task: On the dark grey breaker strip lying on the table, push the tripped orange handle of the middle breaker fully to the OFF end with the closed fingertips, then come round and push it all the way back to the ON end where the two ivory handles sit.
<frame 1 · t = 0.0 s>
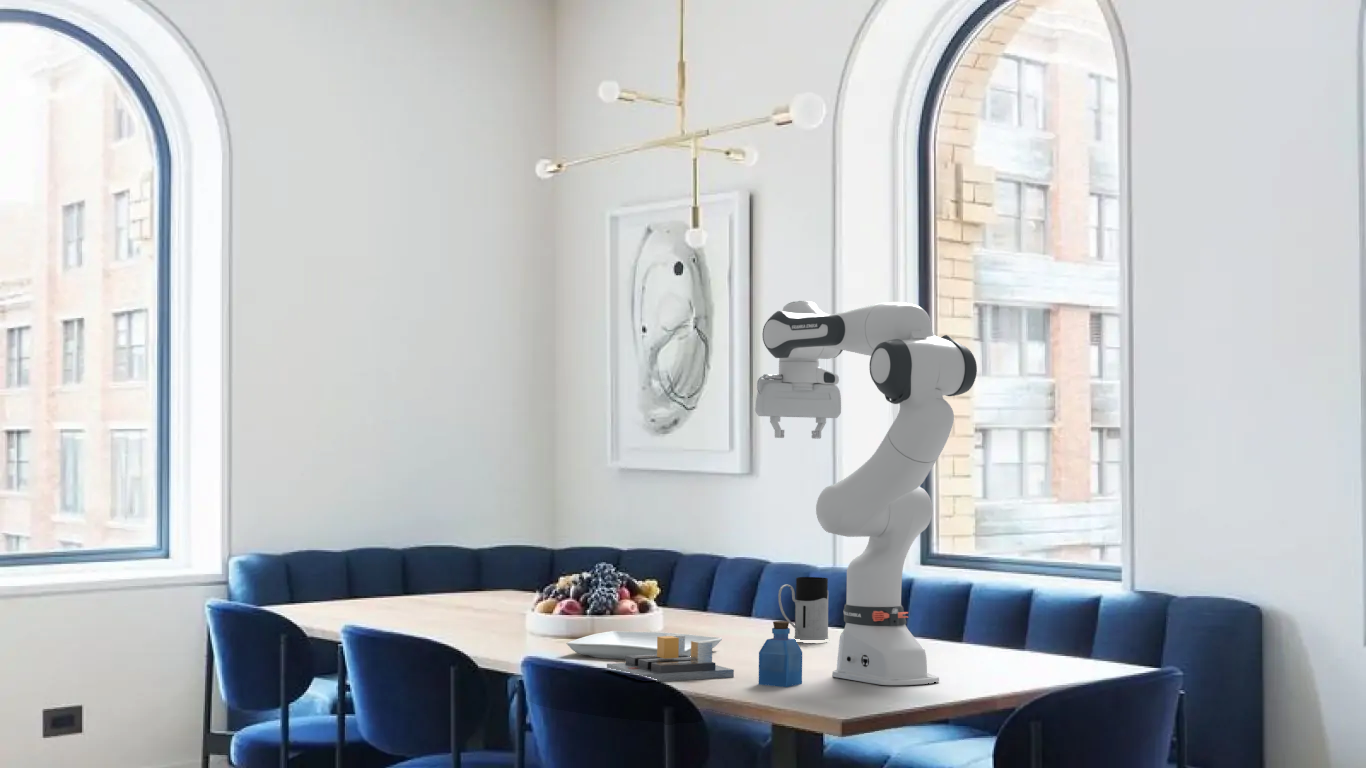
hand: (798, 438, 368), 48 cm above the table, fingers open, 8 cm apart
square plate: (645, 656, 369), on the table
blue glass bottle: (780, 685, 324), on the table
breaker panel: (669, 674, 336), on the table
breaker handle: (667, 647, 336), point 5 cm above the table, slide at 0.5 cm
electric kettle: (802, 642, 396), on the table
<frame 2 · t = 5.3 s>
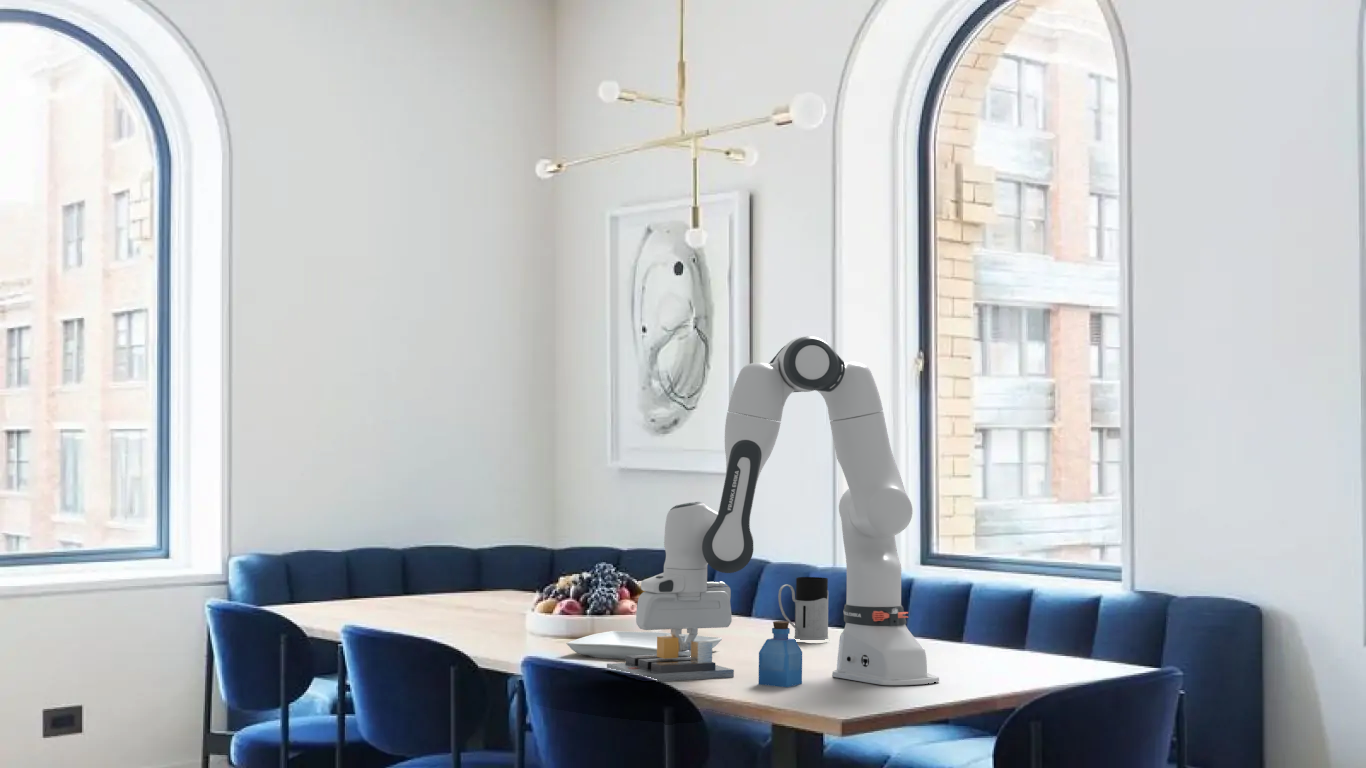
hand: (683, 651, 338), 4 cm above the table, fingers closed
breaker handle: (667, 647, 336), point 5 cm above the table, slide at 0.6 cm, touching gripper
everything else where it was.
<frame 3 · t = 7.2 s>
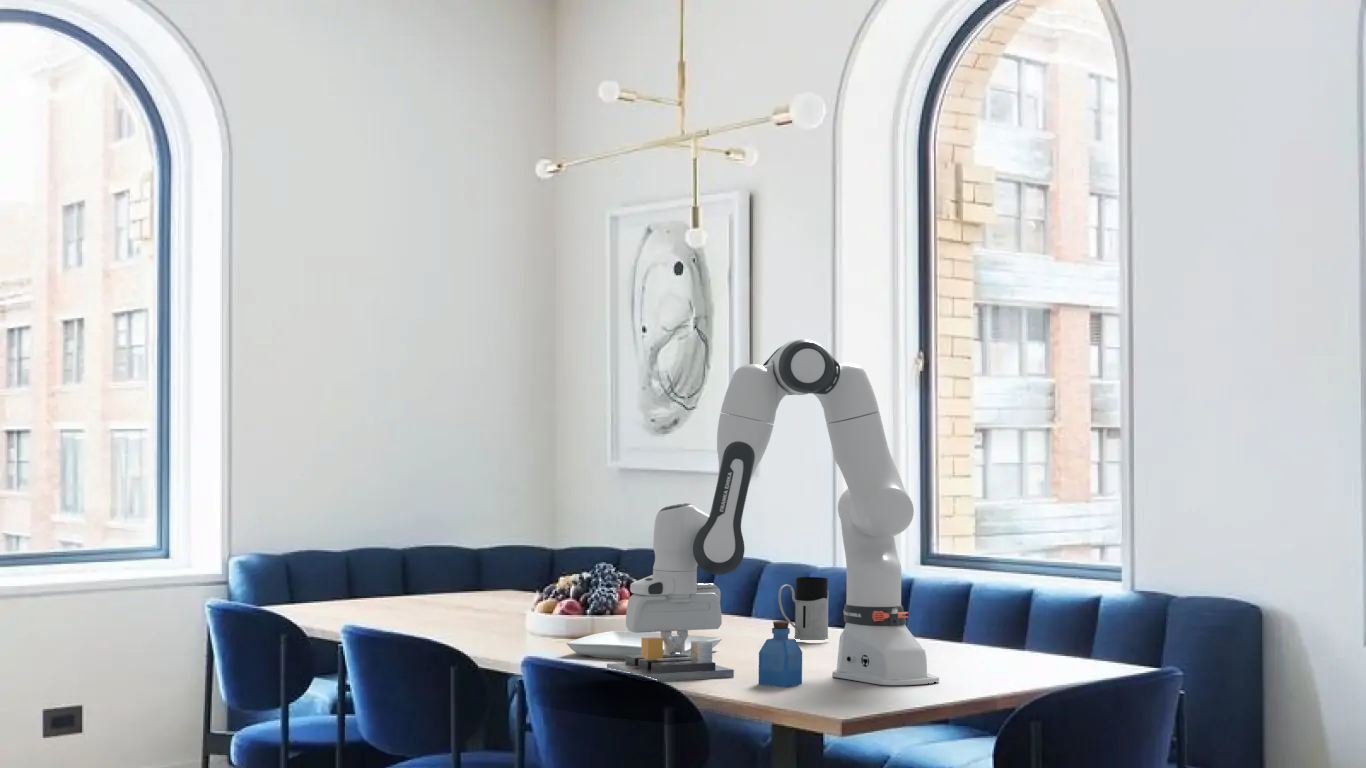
hand: (674, 653, 336), 4 cm above the table, fingers closed
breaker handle: (652, 647, 334), point 5 cm above the table, slide at 4.0 cm
everything else where it was.
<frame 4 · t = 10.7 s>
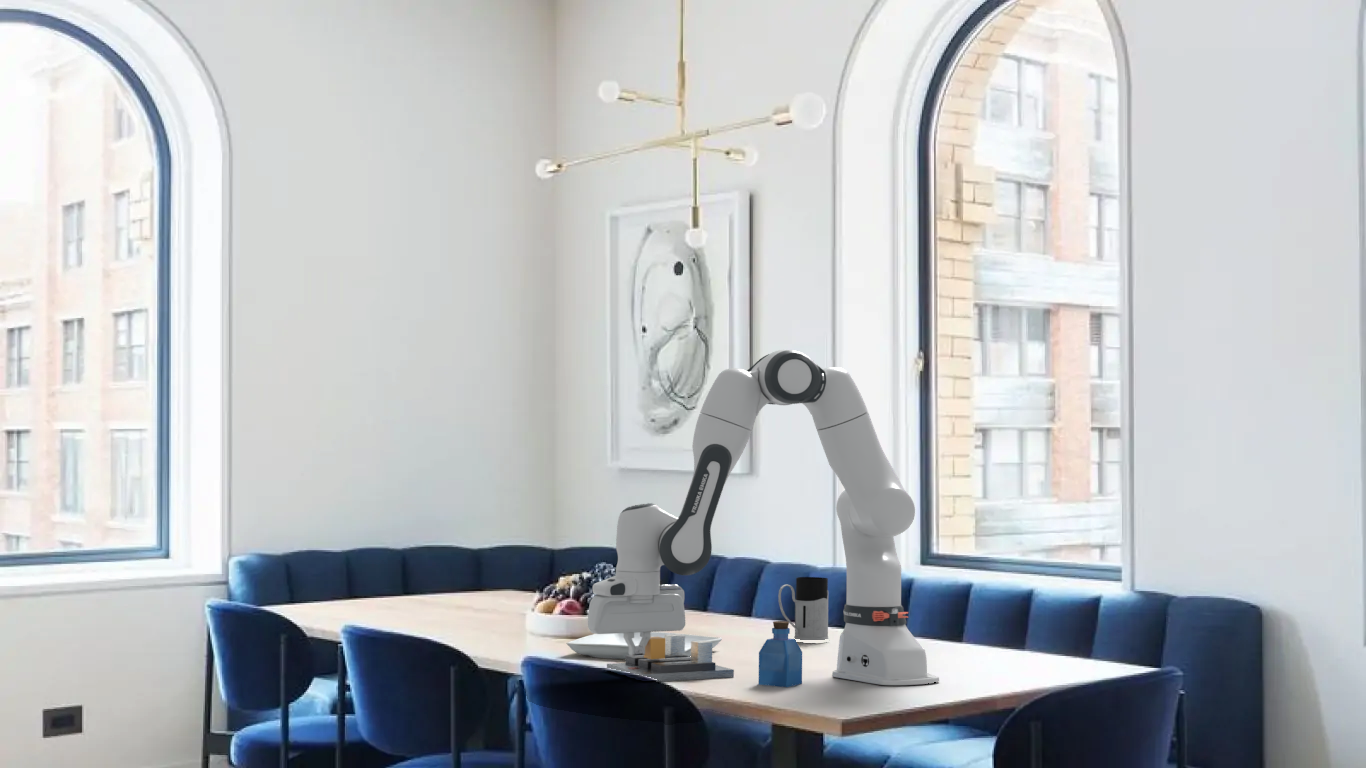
hand: (636, 655, 333), 4 cm above the table, fingers closed
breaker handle: (654, 647, 335), point 5 cm above the table, slide at 3.5 cm, touching gripper
everything else where it was.
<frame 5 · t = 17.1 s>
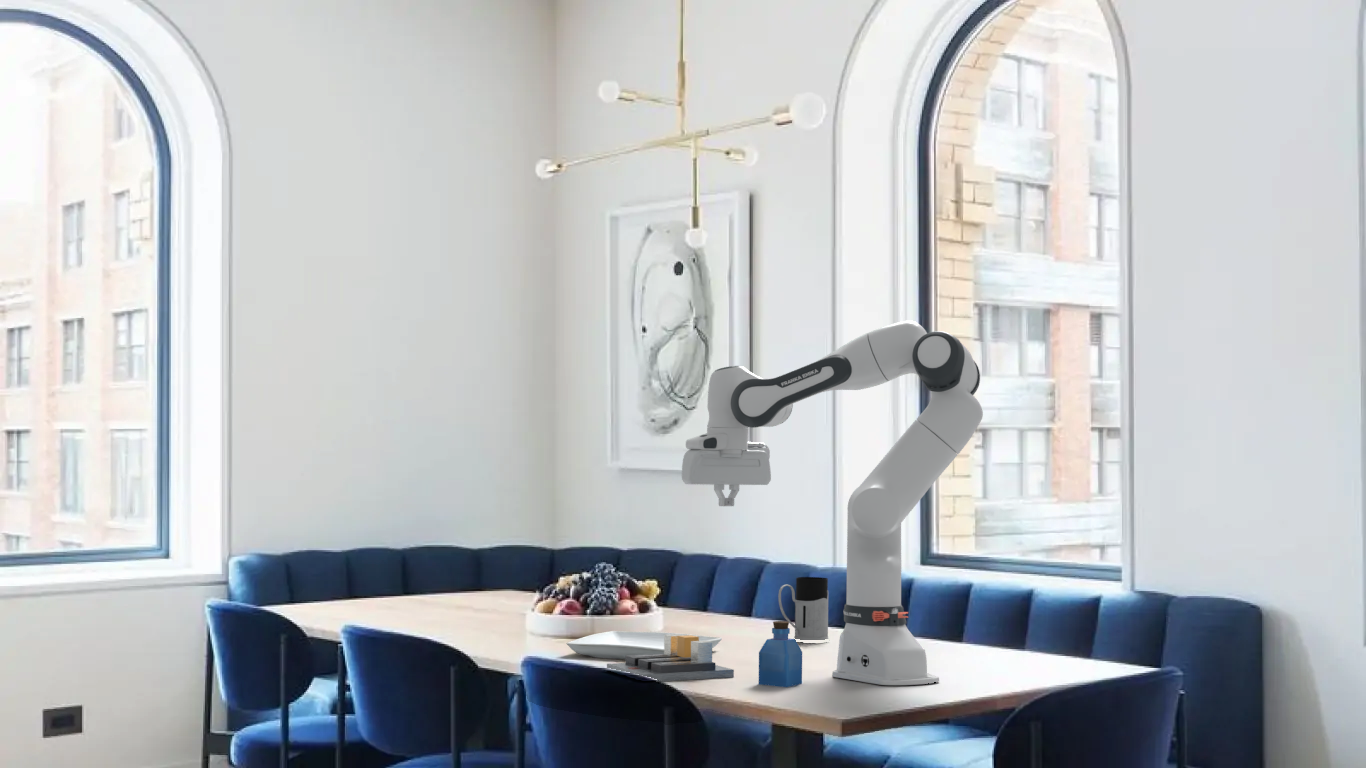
hand: (726, 506, 359), 33 cm above the table, fingers closed
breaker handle: (688, 646, 338), point 5 cm above the table, slide at -4.0 cm
everything else where it was.
at the end: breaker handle slide at -4.0 cm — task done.
